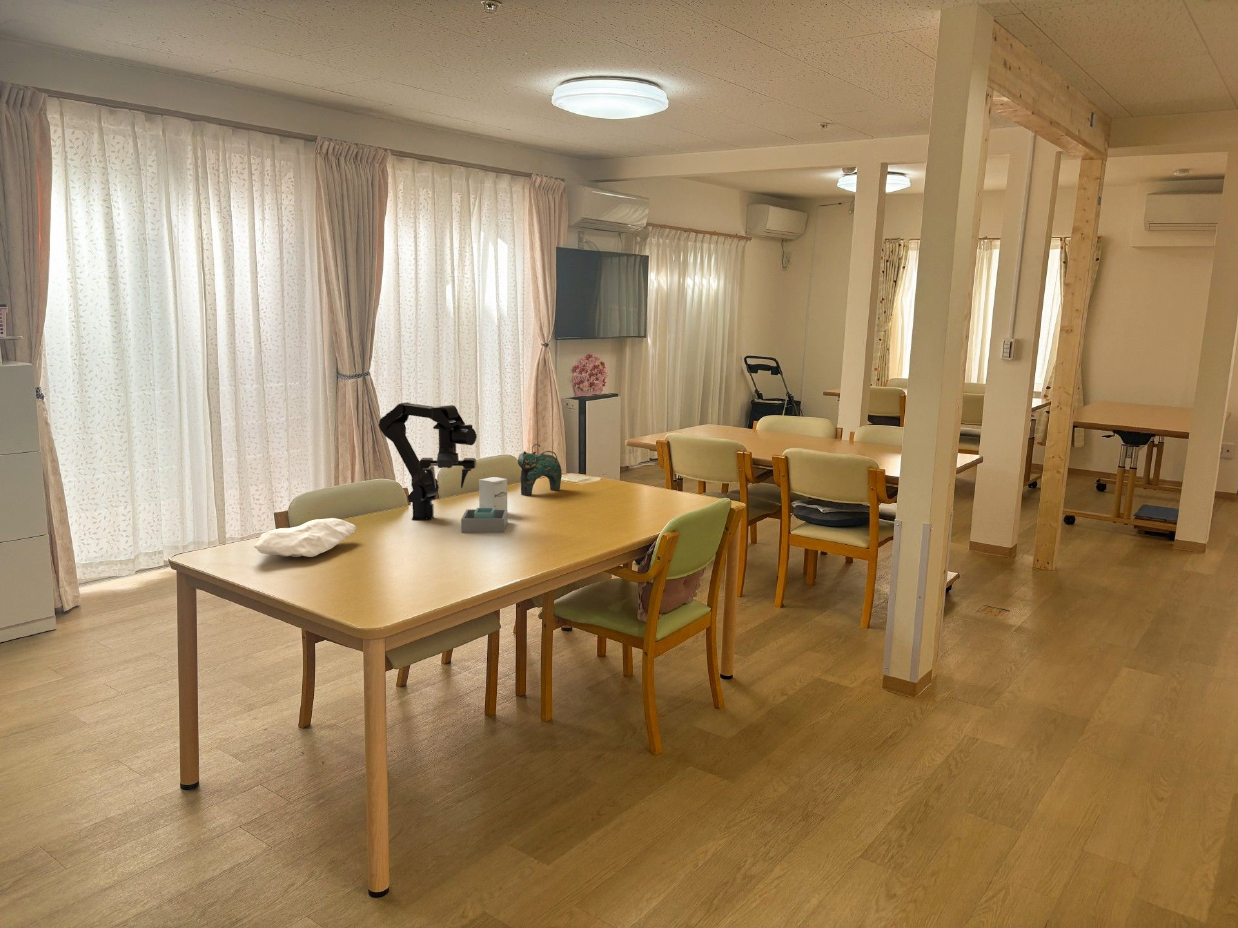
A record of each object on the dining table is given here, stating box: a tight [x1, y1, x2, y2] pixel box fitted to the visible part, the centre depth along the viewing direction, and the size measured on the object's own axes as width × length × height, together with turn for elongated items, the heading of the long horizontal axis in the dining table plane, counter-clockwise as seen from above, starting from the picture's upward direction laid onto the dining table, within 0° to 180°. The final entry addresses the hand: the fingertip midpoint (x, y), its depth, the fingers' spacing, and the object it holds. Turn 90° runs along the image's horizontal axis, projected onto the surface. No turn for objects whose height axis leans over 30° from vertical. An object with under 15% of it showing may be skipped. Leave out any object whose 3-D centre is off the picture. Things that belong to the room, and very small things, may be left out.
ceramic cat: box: [517, 443, 563, 497], centre depth 350 cm, size 20×6×20 cm, turn 132°
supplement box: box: [478, 476, 508, 510], centre depth 315 cm, size 7×7×13 cm
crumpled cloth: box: [253, 517, 356, 558], centre depth 264 cm, size 24×35×9 cm
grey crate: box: [460, 508, 509, 533], centre depth 296 cm, size 14×14×4 cm
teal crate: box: [474, 507, 495, 519], centre depth 296 cm, size 6×8×5 cm
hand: (448, 488), depth 300 cm, fingers open, 9 cm apart
